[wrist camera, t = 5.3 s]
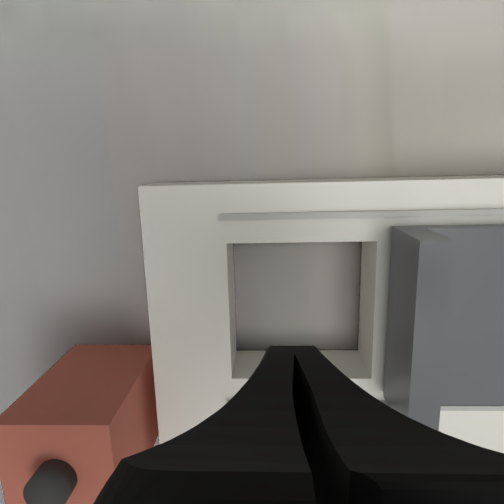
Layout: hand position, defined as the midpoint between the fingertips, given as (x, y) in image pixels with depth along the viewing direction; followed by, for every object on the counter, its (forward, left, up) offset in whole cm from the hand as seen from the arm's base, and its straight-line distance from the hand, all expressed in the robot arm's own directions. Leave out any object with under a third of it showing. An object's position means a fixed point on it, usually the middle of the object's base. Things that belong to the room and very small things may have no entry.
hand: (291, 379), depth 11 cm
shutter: (+7, 0, -4) cm, 9 cm away
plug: (-8, -4, -7) cm, 12 cm away
